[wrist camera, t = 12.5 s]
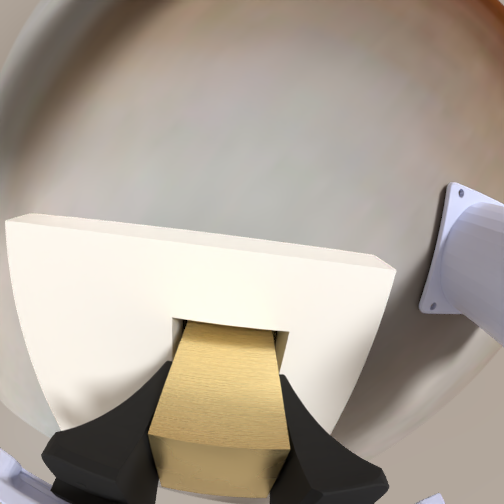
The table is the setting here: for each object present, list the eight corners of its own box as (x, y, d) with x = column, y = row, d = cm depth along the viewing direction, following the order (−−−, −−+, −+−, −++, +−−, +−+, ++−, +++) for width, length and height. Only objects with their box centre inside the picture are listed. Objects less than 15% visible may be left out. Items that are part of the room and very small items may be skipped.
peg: (270, 319, 14) (290, 449, 6) (259, 377, 15) (266, 497, 7) (192, 309, 14) (147, 433, 6) (190, 369, 15) (161, 486, 7)
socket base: (374, 254, 14) (396, 270, 11) (299, 456, 18) (303, 479, 16) (31, 212, 13) (5, 220, 10) (75, 418, 17) (64, 436, 15)
